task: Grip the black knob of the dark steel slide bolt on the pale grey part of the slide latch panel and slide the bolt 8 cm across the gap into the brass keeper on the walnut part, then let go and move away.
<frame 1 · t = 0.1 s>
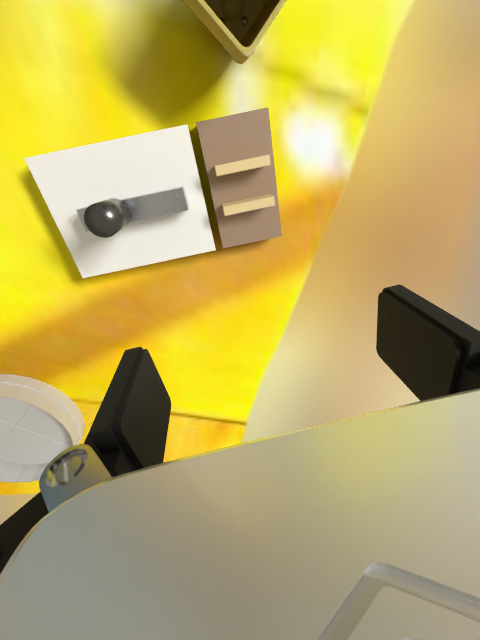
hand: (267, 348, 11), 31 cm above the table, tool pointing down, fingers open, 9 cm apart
dish: (21, 419, 52), on the table
slide latch panel: (165, 199, 36), on the table
bolt: (130, 211, 30), point 7 cm above the table, slide at 0.0 cm
flower pot: (231, 10, 29), on the table
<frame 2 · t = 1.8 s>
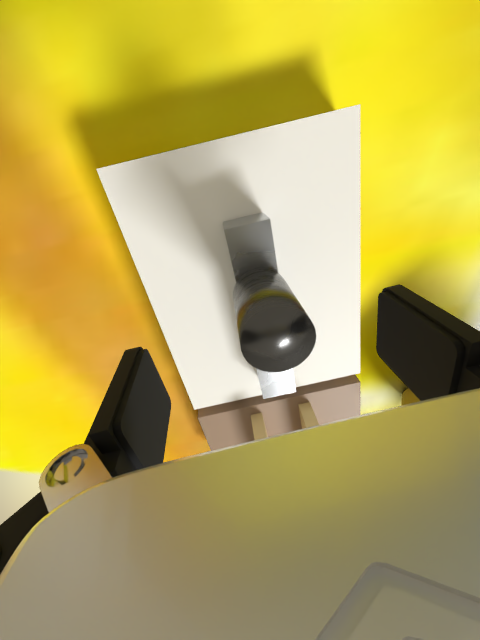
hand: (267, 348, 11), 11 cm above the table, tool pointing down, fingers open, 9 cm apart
slide latch panel: (260, 322, 23), on the table
bolt: (269, 335, 16), point 7 cm above the table, slide at 0.0 cm
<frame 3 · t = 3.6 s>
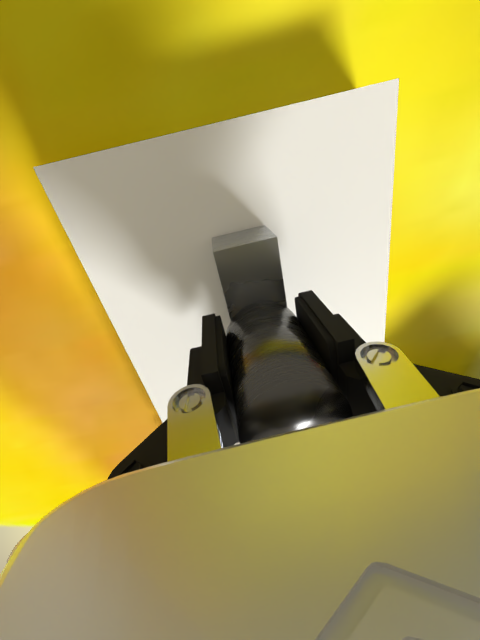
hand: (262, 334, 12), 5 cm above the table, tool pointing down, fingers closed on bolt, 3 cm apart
slide latch panel: (260, 353, 19), on the table
bolt: (276, 389, 12), point 7 cm above the table, slide at 0.0 cm, touching gripper
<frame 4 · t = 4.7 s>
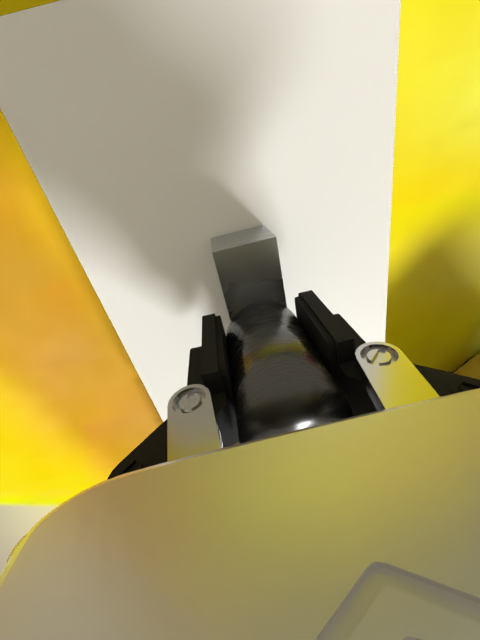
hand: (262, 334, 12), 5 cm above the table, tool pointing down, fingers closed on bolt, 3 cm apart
slide latch panel: (250, 303, 17), on the table
bolt: (276, 389, 12), point 7 cm above the table, slide at 3.9 cm, touching gripper
flower pot: (464, 381, 23), on the table
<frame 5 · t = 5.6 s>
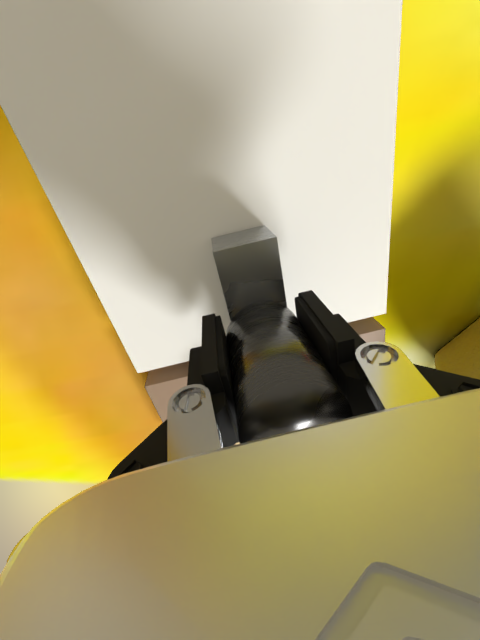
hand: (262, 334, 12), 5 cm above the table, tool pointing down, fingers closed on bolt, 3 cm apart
slide latch panel: (236, 241, 15), on the table
bolt: (276, 389, 12), point 7 cm above the table, slide at 7.9 cm, touching gripper
flower pot: (472, 345, 21), on the table
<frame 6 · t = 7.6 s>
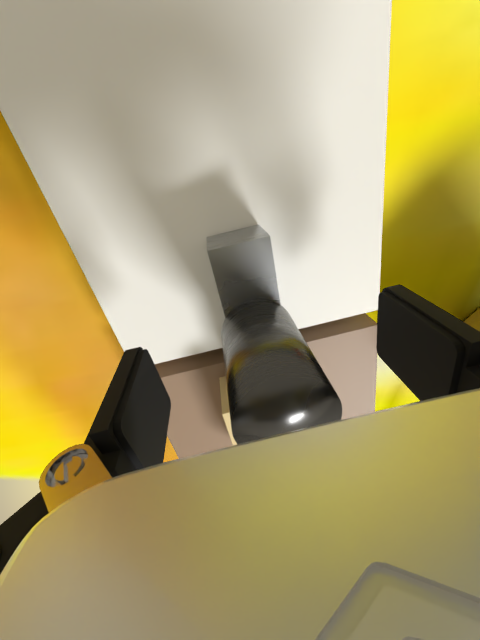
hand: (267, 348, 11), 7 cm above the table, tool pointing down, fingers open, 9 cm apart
slide latch panel: (231, 238, 16), on the table
bolt: (270, 385, 12), point 7 cm above the table, slide at 8.0 cm
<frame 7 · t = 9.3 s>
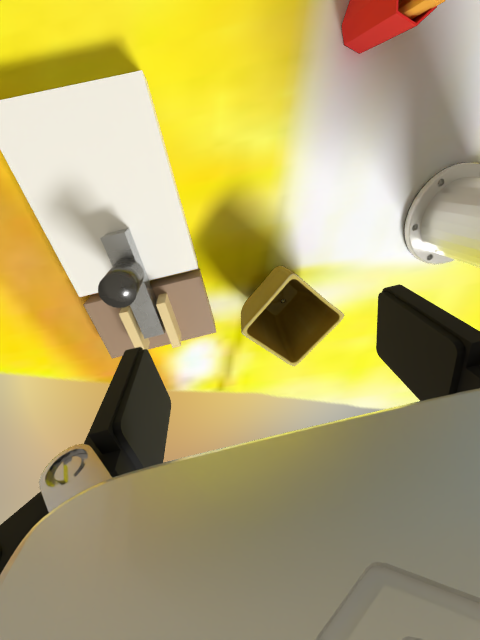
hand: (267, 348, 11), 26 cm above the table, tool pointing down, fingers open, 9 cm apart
slide latch panel: (127, 234, 33), on the table
french fries: (367, 5, 27), on the table
bolt: (133, 295, 29), point 7 cm above the table, slide at 8.0 cm
flower pot: (273, 293, 39), on the table
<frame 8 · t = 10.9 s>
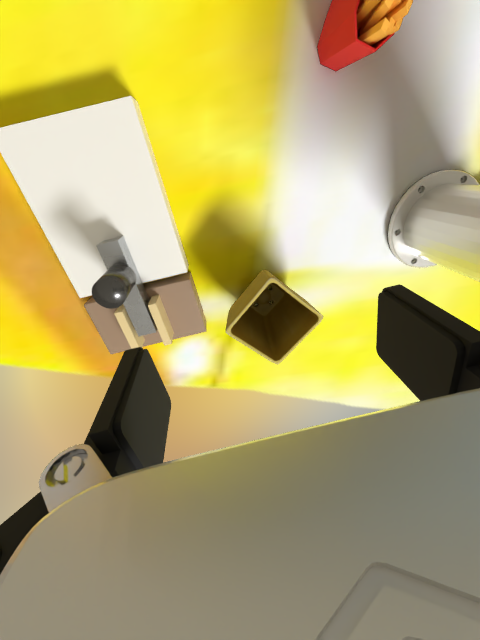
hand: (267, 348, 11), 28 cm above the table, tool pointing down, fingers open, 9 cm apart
slide latch panel: (123, 240, 36), on the table
french fries: (341, 27, 28), on the table
bolt: (126, 297, 32), point 7 cm above the table, slide at 8.0 cm
flower pot: (261, 294, 41), on the table
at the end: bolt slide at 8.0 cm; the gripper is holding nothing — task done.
